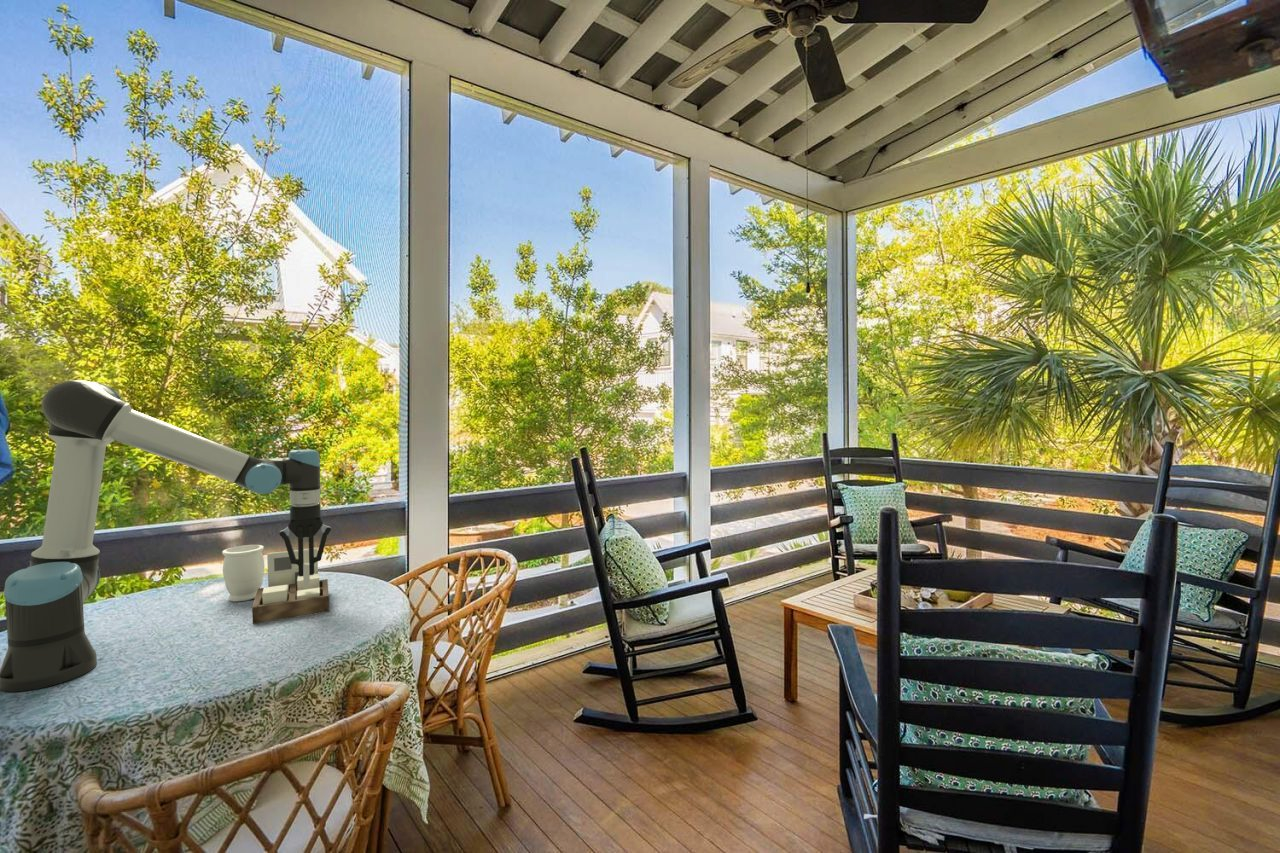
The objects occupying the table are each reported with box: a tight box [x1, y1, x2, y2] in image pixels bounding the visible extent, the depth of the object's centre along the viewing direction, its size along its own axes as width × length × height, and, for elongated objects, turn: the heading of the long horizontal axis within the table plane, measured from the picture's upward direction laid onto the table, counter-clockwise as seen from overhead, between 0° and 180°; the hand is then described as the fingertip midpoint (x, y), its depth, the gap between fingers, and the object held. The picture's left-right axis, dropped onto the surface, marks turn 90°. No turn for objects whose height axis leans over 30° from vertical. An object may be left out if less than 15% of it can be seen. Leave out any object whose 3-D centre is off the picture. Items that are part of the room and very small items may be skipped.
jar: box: [222, 544, 265, 602], centre depth 176 cm, size 11×10×15 cm
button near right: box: [297, 587, 320, 599], centre depth 165 cm, size 6×6×4 cm
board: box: [251, 578, 330, 625], centre depth 167 cm, size 18×18×4 cm
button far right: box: [297, 572, 320, 590], centre depth 172 cm, size 6×6×4 cm
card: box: [266, 547, 319, 587], centre depth 176 cm, size 13×1×14 cm, turn 119°
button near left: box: [262, 585, 288, 604], centre depth 161 cm, size 6×6×4 cm
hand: (306, 586), depth 165 cm, fingers closed
